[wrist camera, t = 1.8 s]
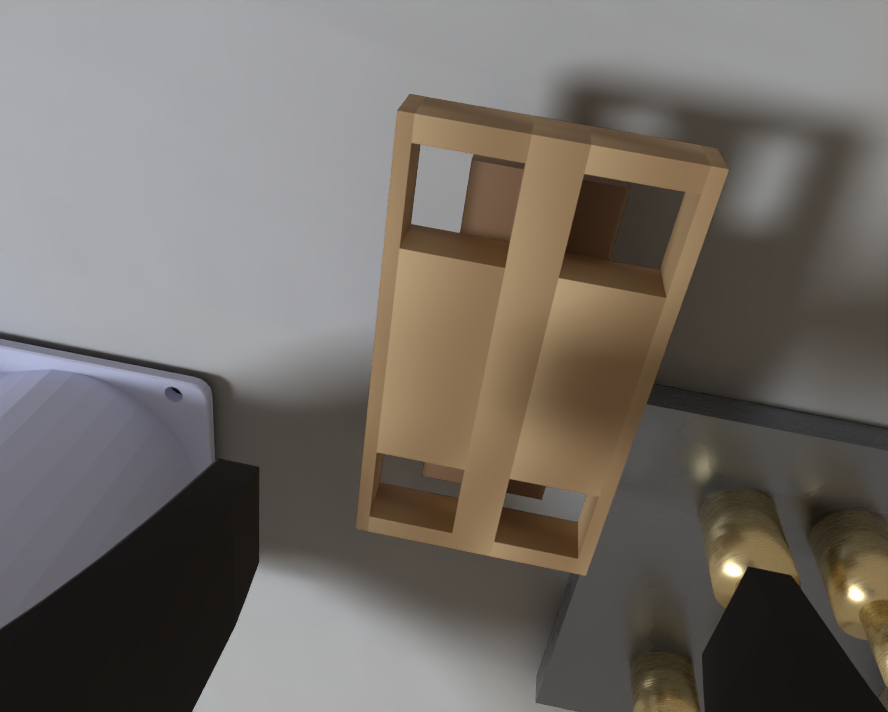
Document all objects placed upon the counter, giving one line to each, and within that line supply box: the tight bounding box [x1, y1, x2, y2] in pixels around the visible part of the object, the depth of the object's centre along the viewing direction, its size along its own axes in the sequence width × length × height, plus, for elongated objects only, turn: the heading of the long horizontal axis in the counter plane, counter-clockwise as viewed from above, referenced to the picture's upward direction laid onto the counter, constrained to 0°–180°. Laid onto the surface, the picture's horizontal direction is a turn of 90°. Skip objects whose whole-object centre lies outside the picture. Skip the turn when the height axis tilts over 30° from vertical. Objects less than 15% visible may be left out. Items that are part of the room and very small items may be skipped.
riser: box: [422, 154, 630, 500], centre depth 17 cm, size 3×8×3 cm, turn 172°
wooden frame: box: [356, 94, 729, 576], centre depth 16 cm, size 6×10×1 cm, turn 172°
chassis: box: [536, 384, 888, 712], centre depth 21 cm, size 10×13×5 cm
